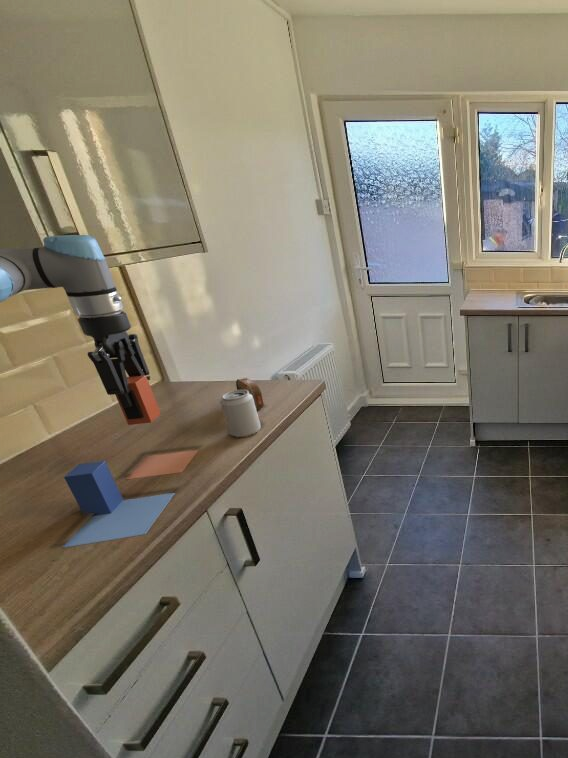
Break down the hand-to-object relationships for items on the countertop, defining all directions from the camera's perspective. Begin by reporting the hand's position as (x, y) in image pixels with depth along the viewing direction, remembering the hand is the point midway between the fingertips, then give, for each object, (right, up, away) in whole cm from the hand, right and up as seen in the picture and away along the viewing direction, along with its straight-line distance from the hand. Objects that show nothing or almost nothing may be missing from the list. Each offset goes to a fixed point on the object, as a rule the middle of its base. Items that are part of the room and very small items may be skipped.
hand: (142, 412), depth 96 cm
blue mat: (+6, -21, -11) cm, 25 cm away
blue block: (0, -20, -9) cm, 21 cm away
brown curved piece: (+3, 0, +36) cm, 36 cm away
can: (+11, -7, +21) cm, 25 cm away
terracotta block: (0, -2, +1) cm, 2 cm away
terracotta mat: (0, -13, +6) cm, 15 cm away
